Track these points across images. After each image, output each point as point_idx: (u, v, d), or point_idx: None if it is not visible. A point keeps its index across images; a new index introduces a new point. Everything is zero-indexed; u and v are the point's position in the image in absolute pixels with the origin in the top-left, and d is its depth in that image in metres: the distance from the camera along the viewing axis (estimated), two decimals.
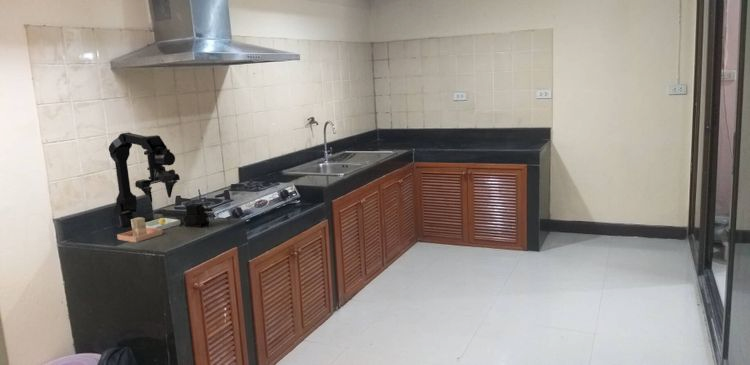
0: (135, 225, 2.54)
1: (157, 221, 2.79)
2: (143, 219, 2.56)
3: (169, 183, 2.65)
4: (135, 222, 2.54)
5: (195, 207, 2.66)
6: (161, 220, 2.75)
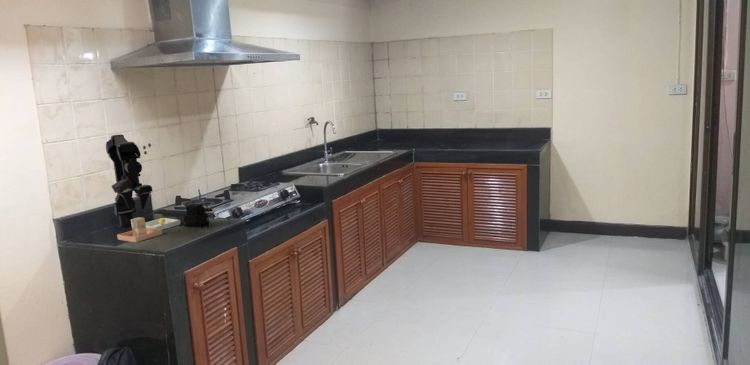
0: (135, 225, 2.54)
1: (157, 221, 2.79)
2: (143, 219, 2.56)
3: None
4: (135, 222, 2.54)
5: (195, 207, 2.66)
6: (161, 220, 2.75)
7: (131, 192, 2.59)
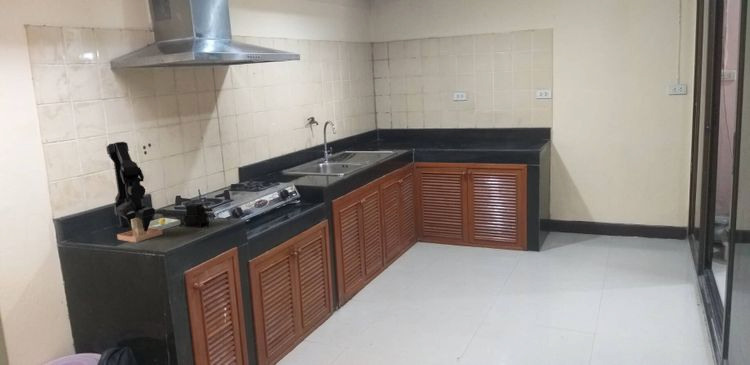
0: (135, 225, 2.54)
1: (157, 221, 2.79)
2: None
3: None
4: (135, 222, 2.54)
5: (195, 207, 2.66)
6: (161, 220, 2.75)
7: (134, 214, 2.60)
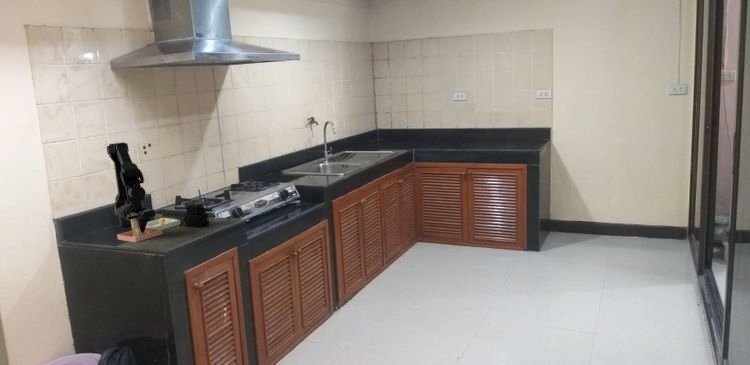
0: (135, 225, 2.54)
1: (157, 221, 2.79)
2: None
3: None
4: (135, 222, 2.54)
5: (195, 207, 2.66)
6: (161, 220, 2.75)
7: (138, 216, 2.59)
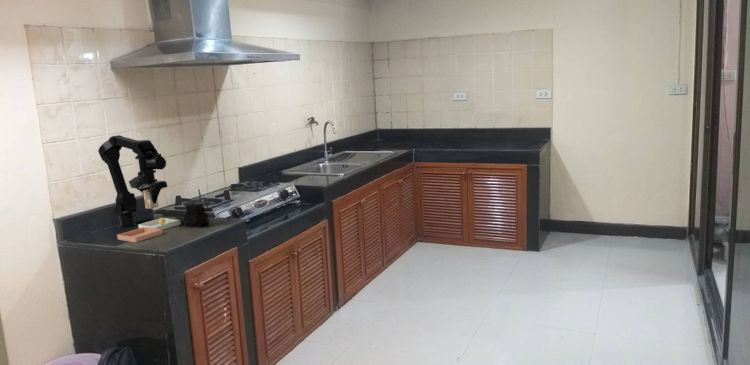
0: (147, 196, 2.66)
1: (157, 221, 2.79)
2: None
3: None
4: (147, 193, 2.65)
5: (195, 207, 2.66)
6: (161, 220, 2.75)
7: (150, 188, 2.70)
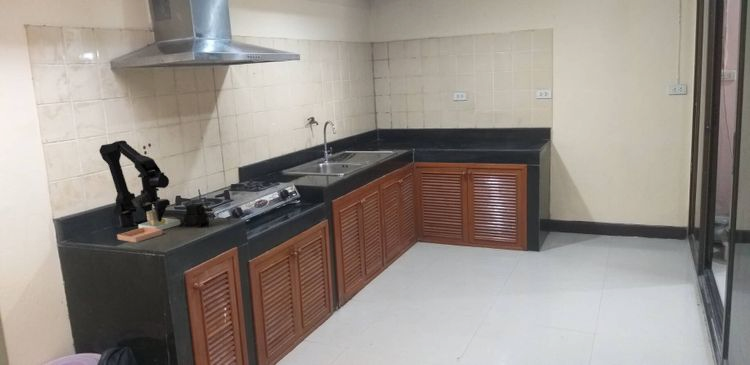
0: (150, 217, 2.68)
1: None
2: None
3: None
4: (150, 214, 2.67)
5: (195, 207, 2.66)
6: (161, 220, 2.75)
7: (150, 205, 2.73)
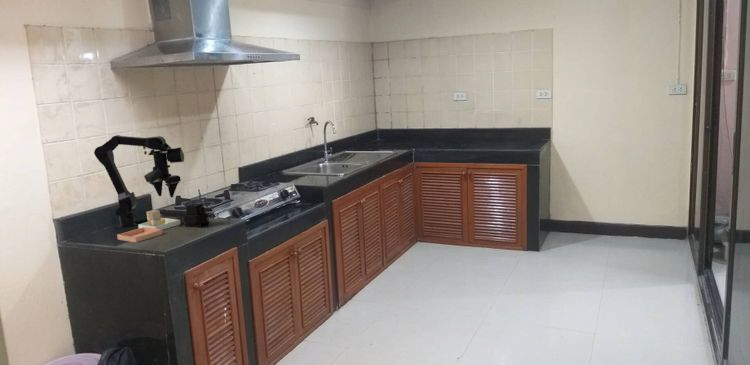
0: (150, 217, 2.68)
1: None
2: (158, 211, 2.69)
3: None
4: (150, 214, 2.67)
5: (195, 207, 2.66)
6: (161, 220, 2.75)
7: (161, 182, 2.83)
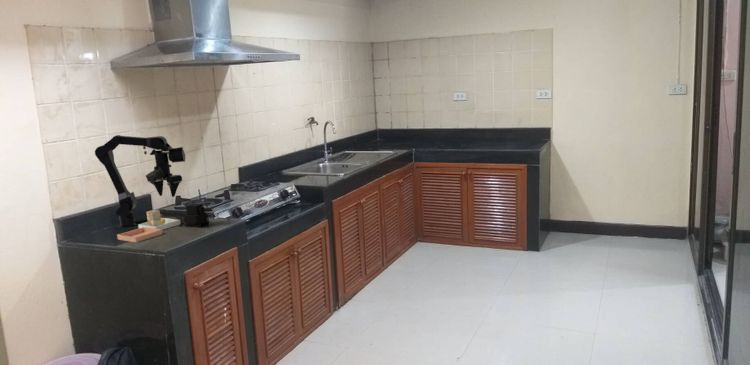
0: (150, 217, 2.68)
1: None
2: (158, 211, 2.69)
3: None
4: (150, 214, 2.67)
5: (195, 207, 2.66)
6: (161, 220, 2.75)
7: (162, 181, 2.84)
